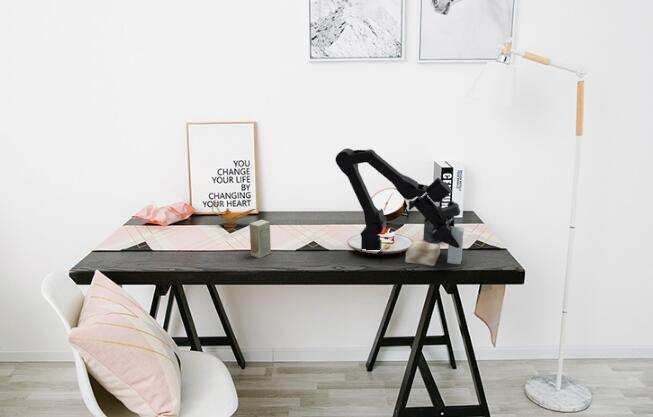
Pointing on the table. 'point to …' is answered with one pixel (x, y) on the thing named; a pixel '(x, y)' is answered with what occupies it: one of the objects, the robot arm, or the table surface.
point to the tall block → (454, 252)
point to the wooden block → (423, 253)
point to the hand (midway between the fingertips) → (459, 243)
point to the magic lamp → (231, 216)
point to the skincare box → (260, 238)
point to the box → (428, 233)
